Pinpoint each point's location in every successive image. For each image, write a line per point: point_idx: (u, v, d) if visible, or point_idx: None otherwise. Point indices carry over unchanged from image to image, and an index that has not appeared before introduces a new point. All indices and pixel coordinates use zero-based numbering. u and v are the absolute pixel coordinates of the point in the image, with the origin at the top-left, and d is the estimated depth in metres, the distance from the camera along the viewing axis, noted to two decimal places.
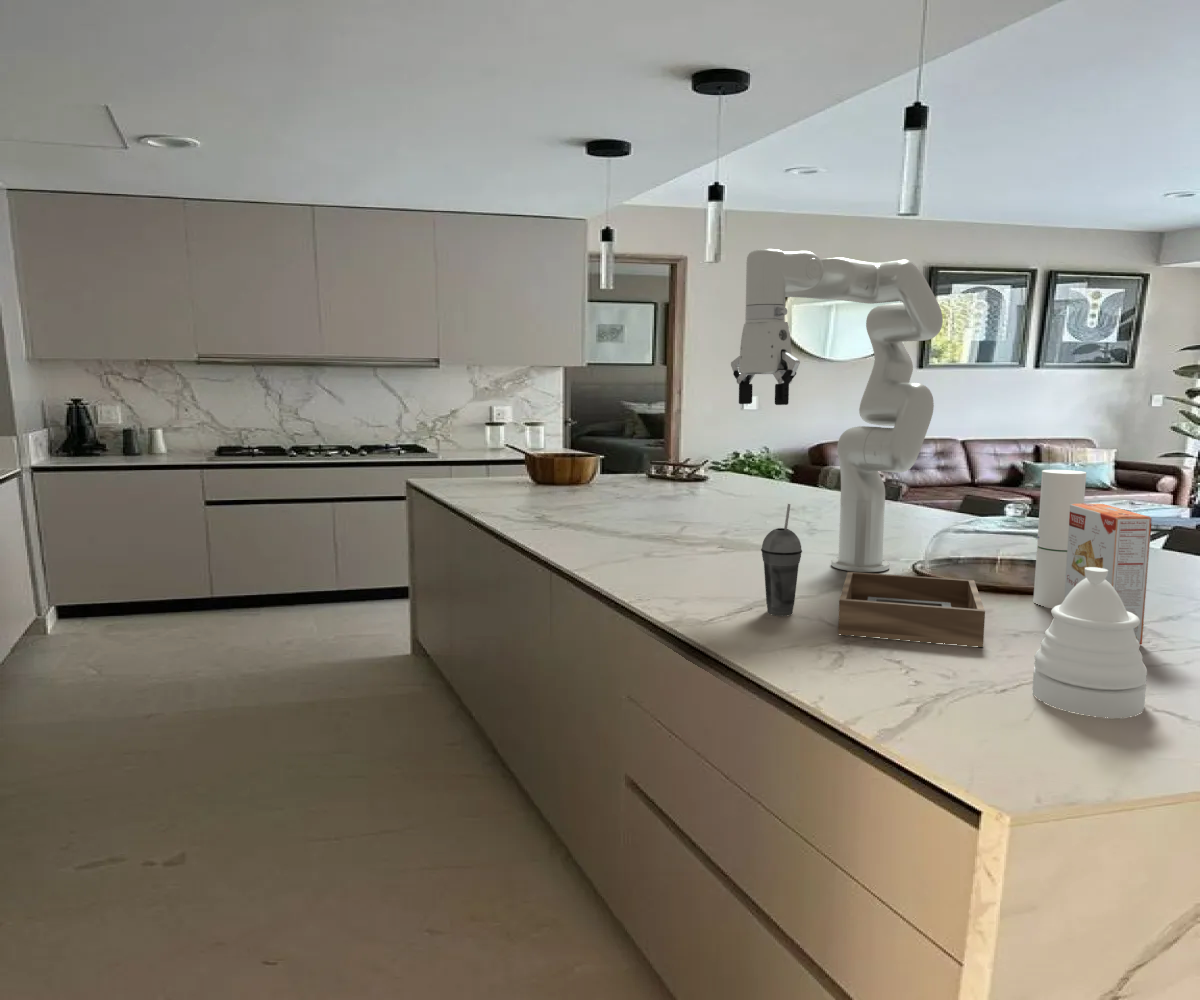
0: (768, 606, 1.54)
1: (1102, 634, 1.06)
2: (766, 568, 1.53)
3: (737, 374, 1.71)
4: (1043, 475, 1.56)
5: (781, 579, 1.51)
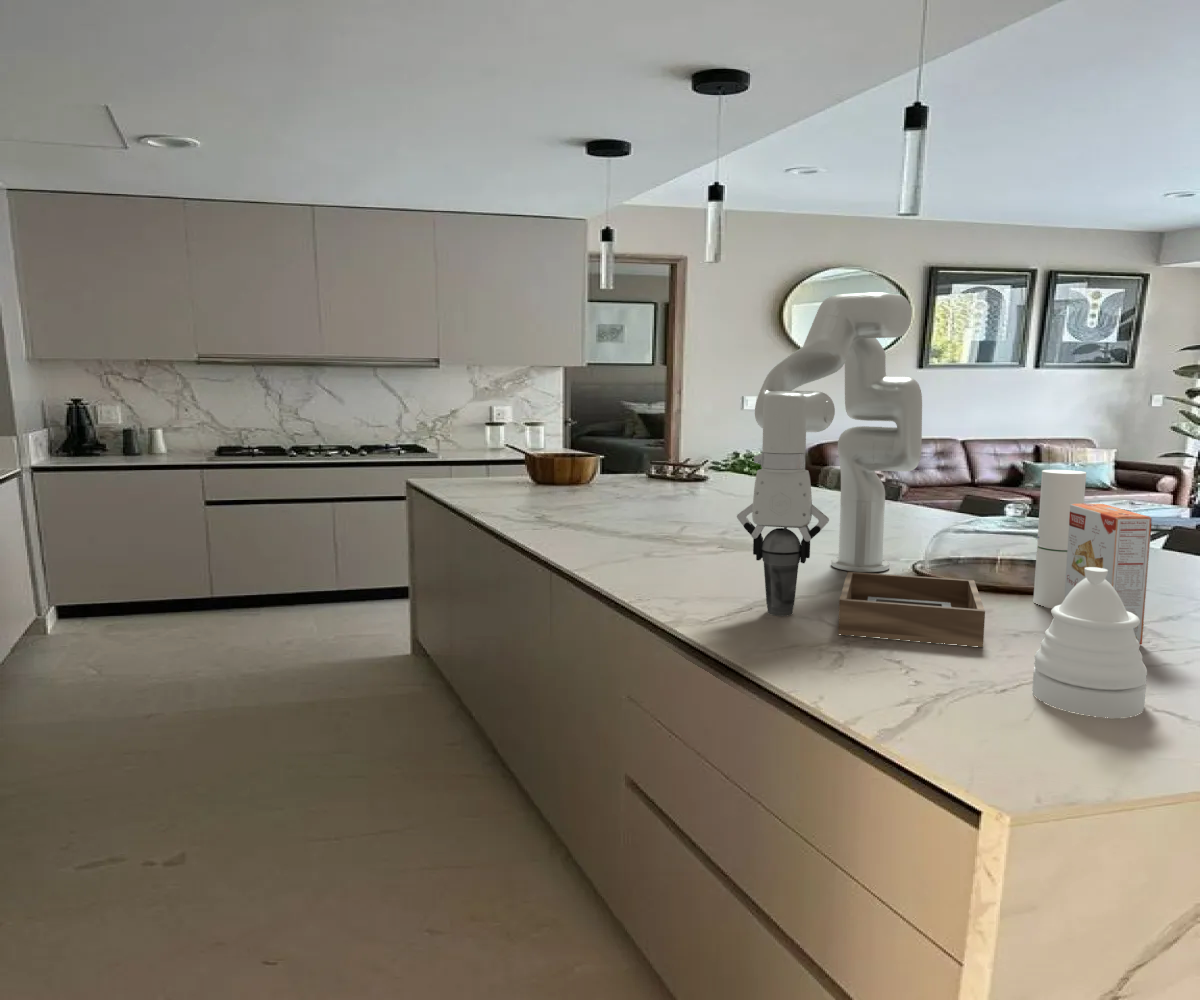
0: (768, 606, 1.54)
1: (1102, 634, 1.06)
2: (766, 568, 1.53)
3: None
4: (1043, 475, 1.56)
5: (781, 579, 1.51)
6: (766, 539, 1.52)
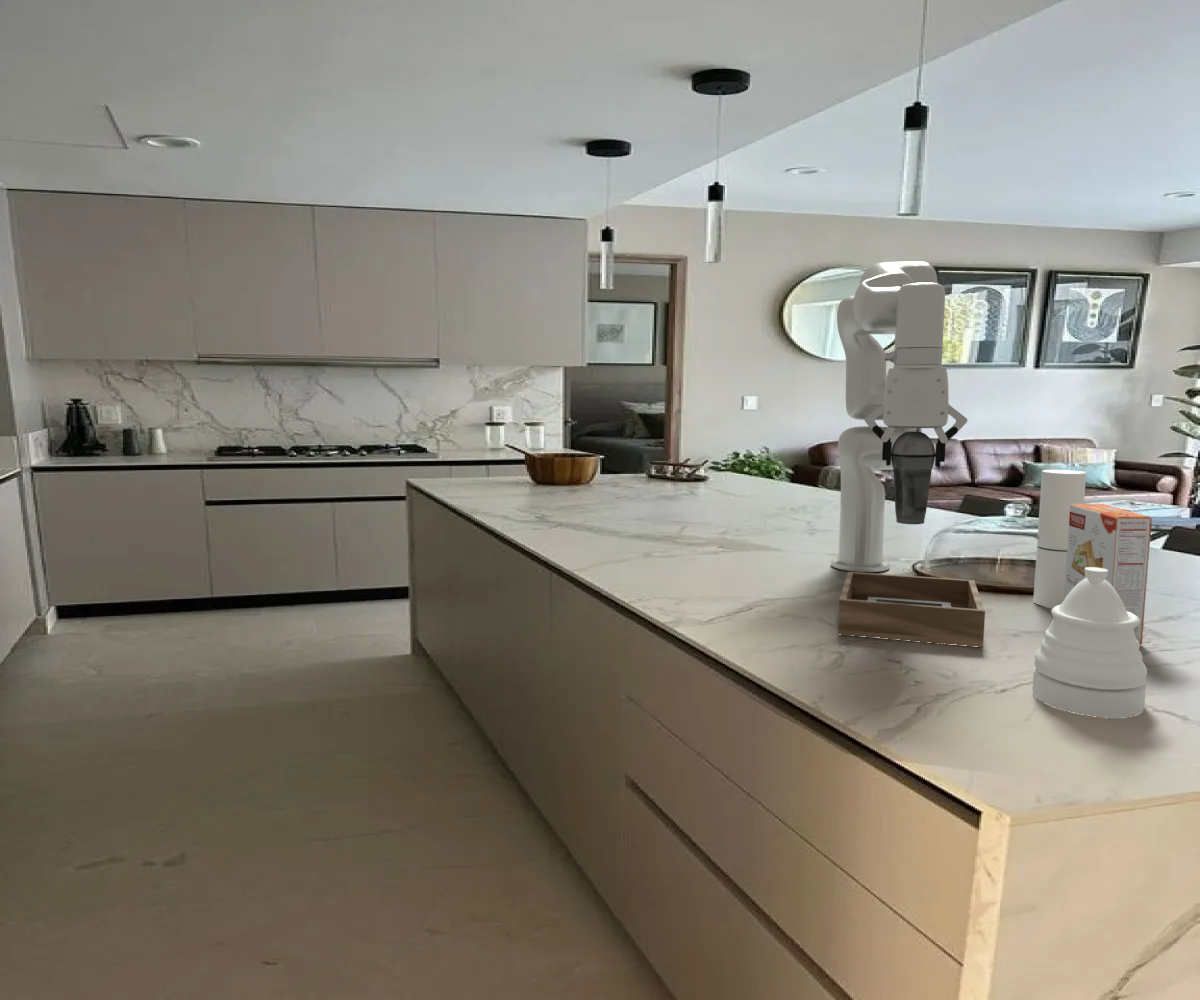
0: (898, 515, 1.44)
1: (1102, 634, 1.06)
2: (897, 473, 1.43)
3: None
4: (1043, 475, 1.56)
5: (914, 484, 1.41)
6: (898, 442, 1.42)
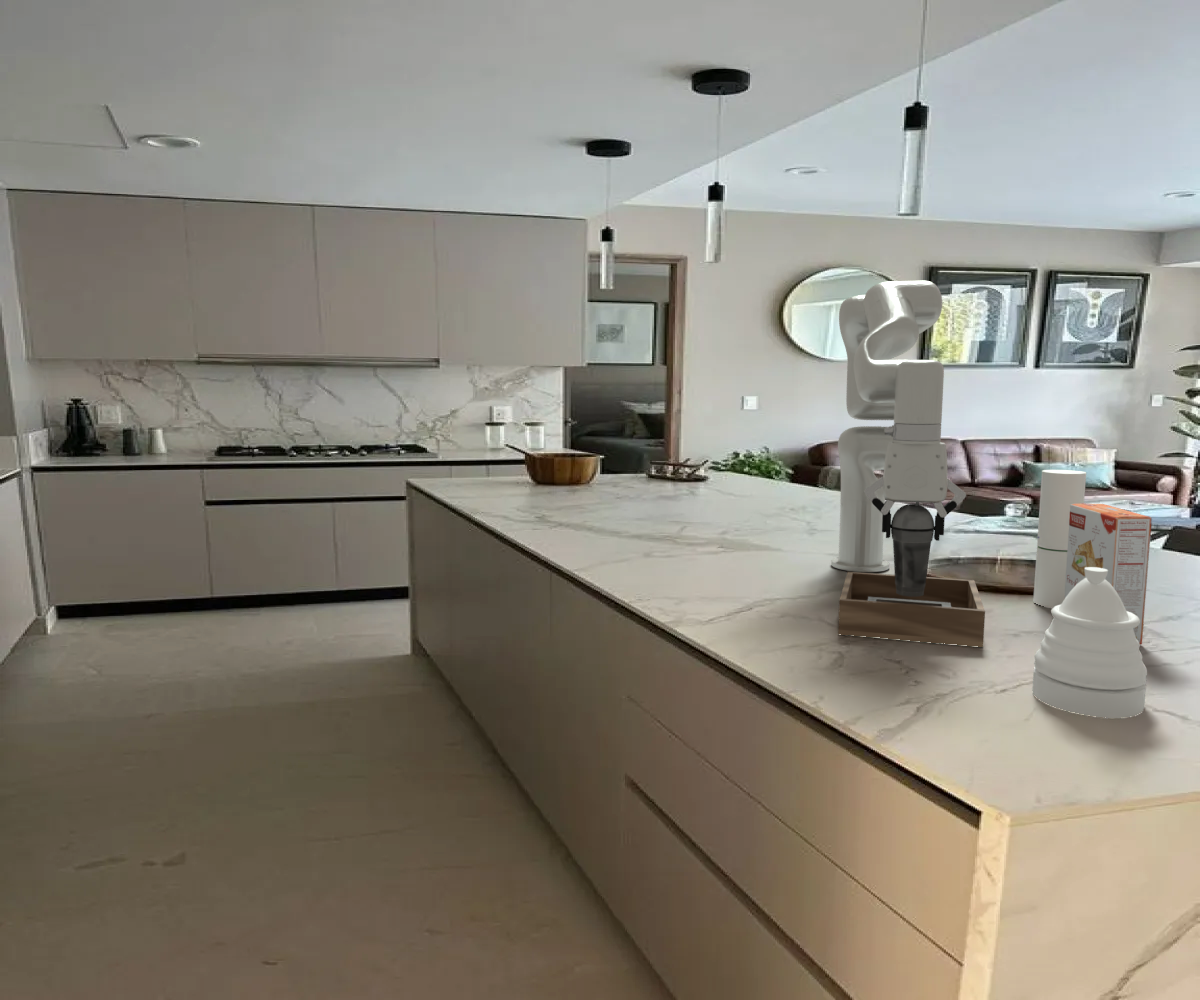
0: (898, 586, 1.46)
1: (1102, 634, 1.06)
2: (897, 546, 1.45)
3: None
4: (1043, 475, 1.56)
5: (914, 557, 1.43)
6: (897, 515, 1.44)
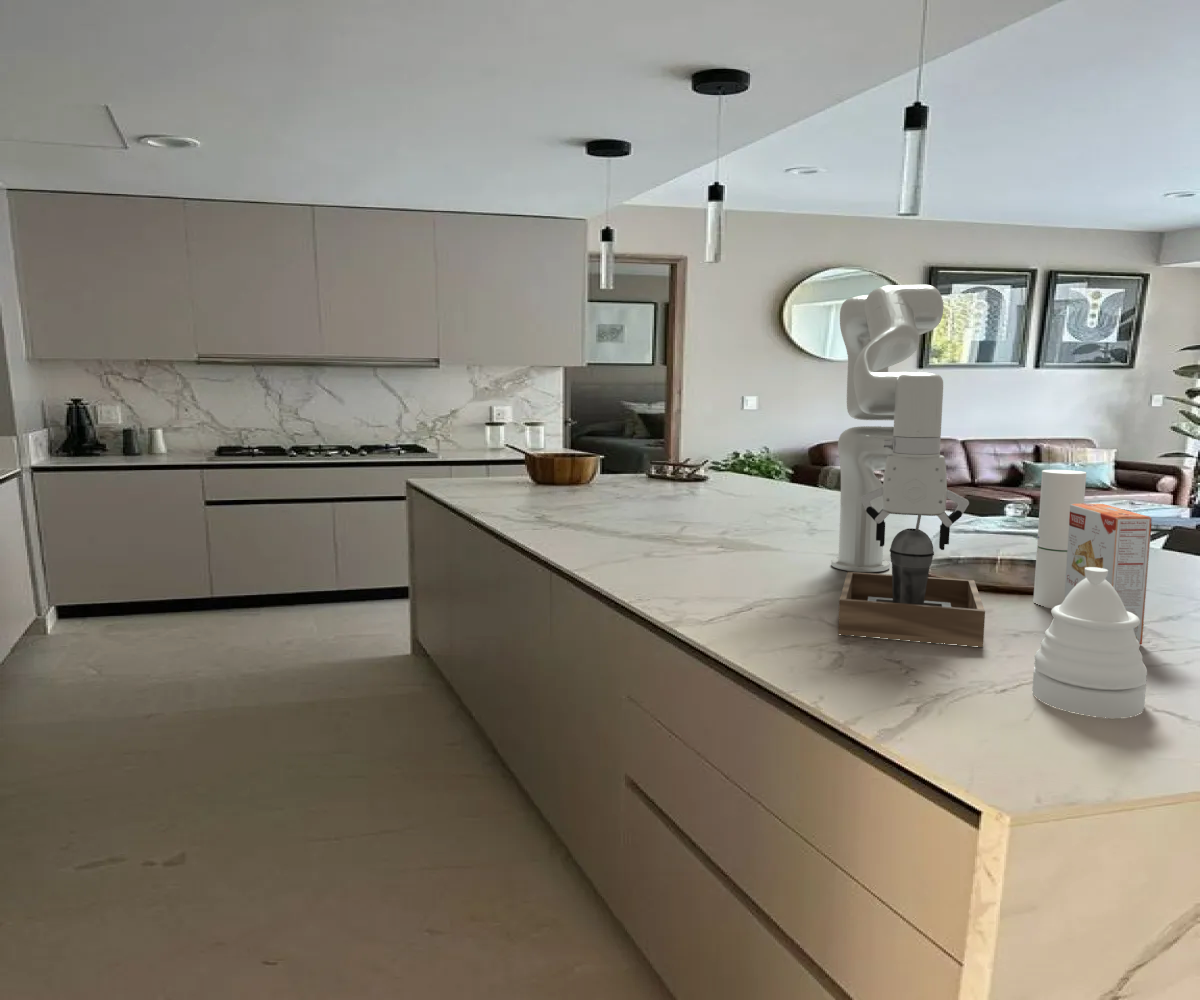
0: None
1: (1102, 634, 1.06)
2: (895, 570, 1.46)
3: None
4: (1043, 475, 1.56)
5: (912, 582, 1.44)
6: (897, 540, 1.45)
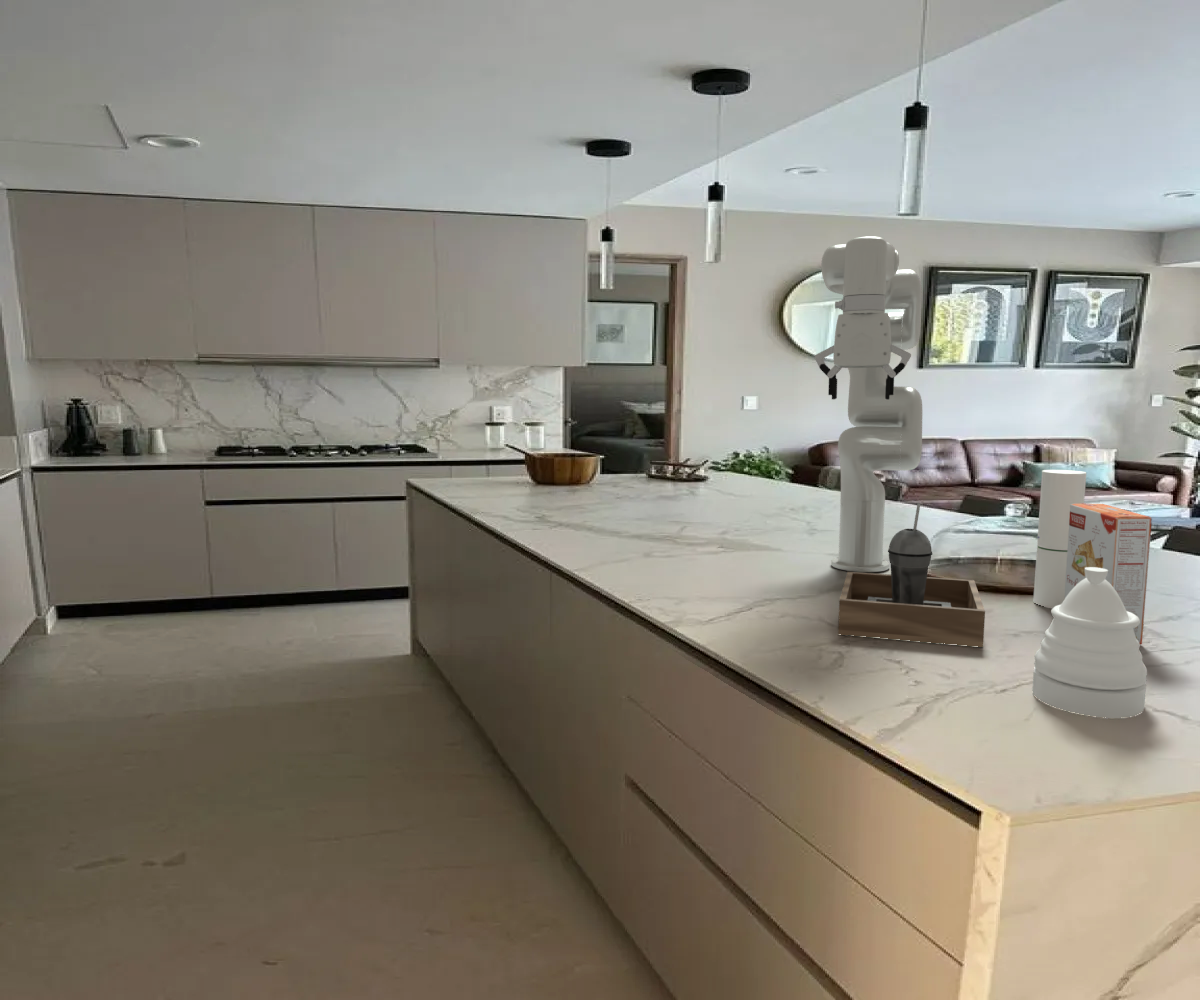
0: None
1: (1102, 634, 1.06)
2: (894, 570, 1.46)
3: None
4: (1043, 475, 1.56)
5: (911, 582, 1.44)
6: (895, 540, 1.45)
